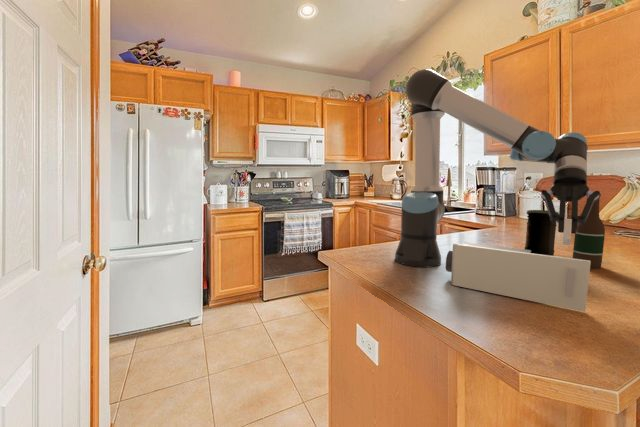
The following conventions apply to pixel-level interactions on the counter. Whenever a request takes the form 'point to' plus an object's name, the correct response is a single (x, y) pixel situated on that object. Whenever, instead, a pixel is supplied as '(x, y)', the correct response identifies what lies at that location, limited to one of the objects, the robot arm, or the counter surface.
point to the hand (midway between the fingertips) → (566, 242)
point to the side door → (522, 275)
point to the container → (540, 232)
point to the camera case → (449, 255)
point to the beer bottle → (590, 238)
